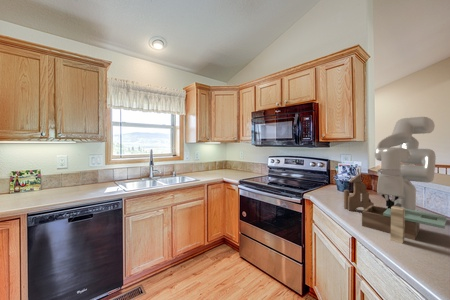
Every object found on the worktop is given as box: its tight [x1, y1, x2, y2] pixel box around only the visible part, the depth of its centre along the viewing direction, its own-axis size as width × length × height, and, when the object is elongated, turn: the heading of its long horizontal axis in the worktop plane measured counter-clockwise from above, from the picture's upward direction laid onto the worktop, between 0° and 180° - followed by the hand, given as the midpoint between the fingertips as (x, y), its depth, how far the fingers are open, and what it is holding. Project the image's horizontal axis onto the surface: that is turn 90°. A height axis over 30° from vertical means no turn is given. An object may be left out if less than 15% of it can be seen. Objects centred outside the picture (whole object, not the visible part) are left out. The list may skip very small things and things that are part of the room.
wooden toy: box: [343, 173, 375, 212], centre depth 128 cm, size 16×7×25 cm, turn 72°
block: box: [390, 206, 405, 245], centre depth 86 cm, size 4×4×16 cm
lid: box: [383, 203, 447, 230], centre depth 92 cm, size 16×20×4 cm
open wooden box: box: [361, 205, 421, 241], centre depth 99 cm, size 16×20×9 cm
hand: (390, 208), depth 99 cm, fingers closed
